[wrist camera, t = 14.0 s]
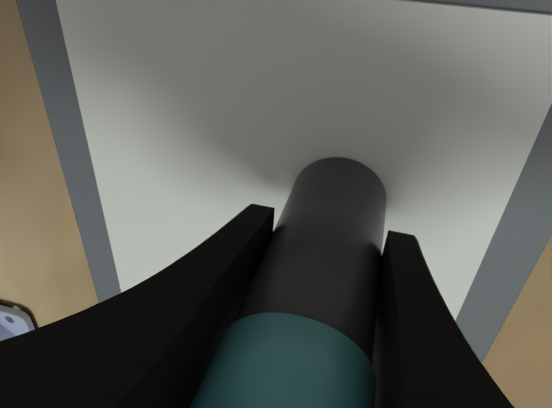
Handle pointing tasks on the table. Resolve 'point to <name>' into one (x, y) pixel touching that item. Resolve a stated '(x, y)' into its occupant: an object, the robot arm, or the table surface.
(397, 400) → the robot arm
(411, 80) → the sketch board
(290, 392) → the marker
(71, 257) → the table surface
